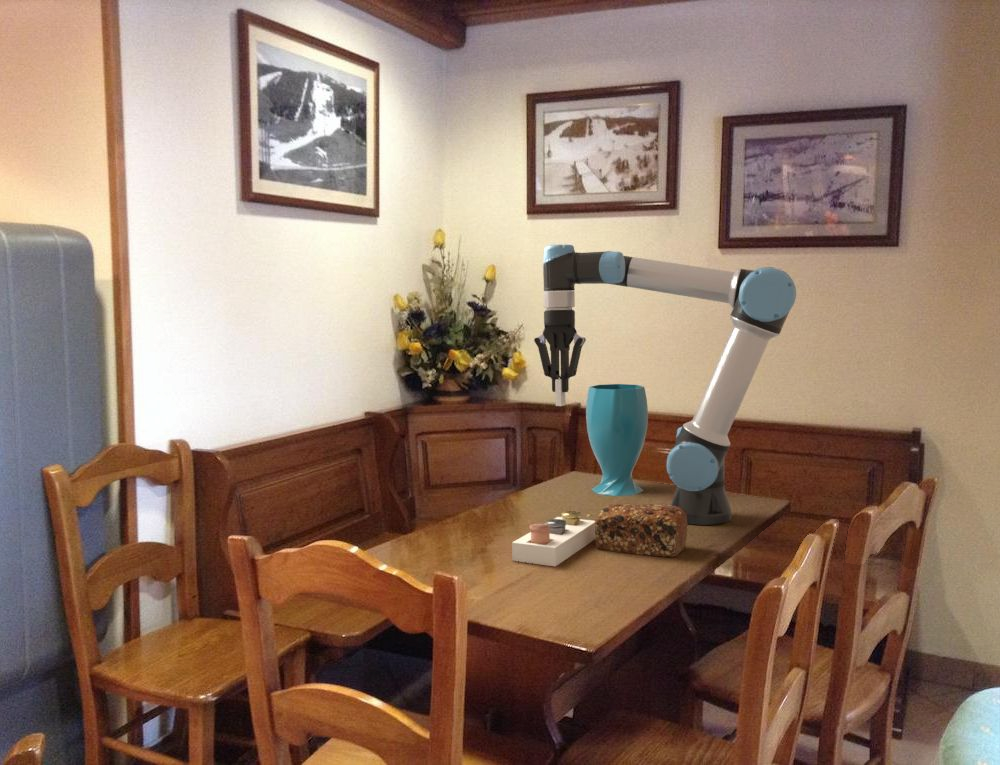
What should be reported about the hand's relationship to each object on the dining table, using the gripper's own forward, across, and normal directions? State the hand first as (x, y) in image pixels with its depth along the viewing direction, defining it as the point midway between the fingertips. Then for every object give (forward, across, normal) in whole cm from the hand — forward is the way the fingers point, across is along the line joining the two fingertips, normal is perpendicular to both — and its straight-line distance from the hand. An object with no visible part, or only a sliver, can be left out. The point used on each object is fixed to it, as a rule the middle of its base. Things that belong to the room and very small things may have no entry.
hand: (560, 405), depth 217 cm
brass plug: (+29, -8, +13) cm, 33 cm away
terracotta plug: (+28, -8, +30) cm, 42 cm away
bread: (+30, -25, +14) cm, 41 cm away
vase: (+30, 0, -40) cm, 50 cm away
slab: (+29, -8, +22) cm, 37 cm away
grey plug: (+29, -8, +22) cm, 37 cm away
